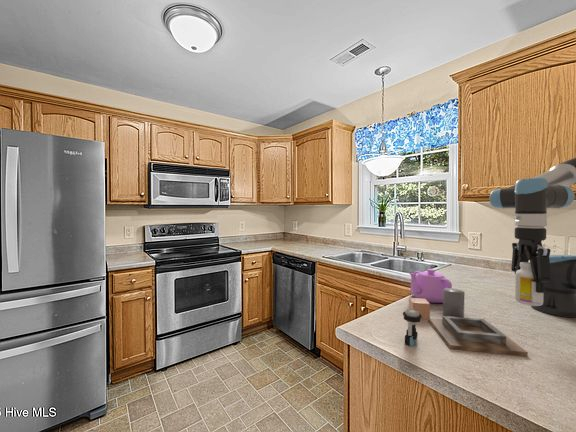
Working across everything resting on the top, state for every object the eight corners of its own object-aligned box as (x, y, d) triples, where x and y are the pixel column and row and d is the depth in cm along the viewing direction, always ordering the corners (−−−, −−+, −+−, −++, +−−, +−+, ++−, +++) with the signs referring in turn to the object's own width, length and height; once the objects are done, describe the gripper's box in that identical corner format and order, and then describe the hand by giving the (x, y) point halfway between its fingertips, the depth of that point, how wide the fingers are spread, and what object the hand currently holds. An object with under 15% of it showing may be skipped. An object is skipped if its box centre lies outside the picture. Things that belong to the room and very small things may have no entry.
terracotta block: (424, 313, 106) (425, 298, 106) (429, 319, 101) (429, 303, 100) (408, 312, 108) (409, 297, 108) (412, 318, 102) (412, 302, 102)
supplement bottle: (548, 307, 82) (549, 266, 81) (523, 306, 83) (524, 265, 82) (533, 299, 88) (534, 261, 88) (510, 298, 89) (511, 261, 89)
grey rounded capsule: (459, 313, 106) (459, 288, 106) (467, 320, 99) (467, 294, 99) (440, 312, 108) (440, 287, 107) (446, 319, 101) (447, 293, 101)
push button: (408, 335, 87) (408, 305, 87) (425, 341, 84) (425, 310, 83) (399, 342, 83) (399, 311, 82) (417, 349, 79) (417, 316, 79)
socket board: (489, 325, 95) (489, 315, 95) (527, 356, 75) (527, 343, 75) (428, 321, 99) (428, 311, 99) (450, 348, 79) (450, 336, 79)
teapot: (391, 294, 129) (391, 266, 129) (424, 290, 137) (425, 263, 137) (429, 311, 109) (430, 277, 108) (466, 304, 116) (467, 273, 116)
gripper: (498, 224, 95) (498, 288, 96) (538, 229, 76) (537, 309, 77) (523, 224, 94) (522, 289, 94) (570, 229, 74) (568, 310, 75)
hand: (529, 298), depth 85 cm, fingers closed on supplement bottle, 7 cm apart
